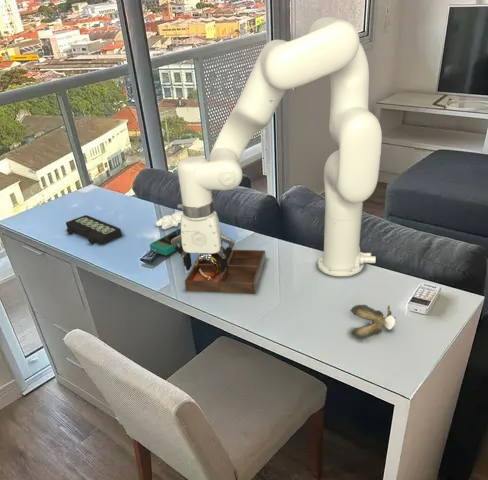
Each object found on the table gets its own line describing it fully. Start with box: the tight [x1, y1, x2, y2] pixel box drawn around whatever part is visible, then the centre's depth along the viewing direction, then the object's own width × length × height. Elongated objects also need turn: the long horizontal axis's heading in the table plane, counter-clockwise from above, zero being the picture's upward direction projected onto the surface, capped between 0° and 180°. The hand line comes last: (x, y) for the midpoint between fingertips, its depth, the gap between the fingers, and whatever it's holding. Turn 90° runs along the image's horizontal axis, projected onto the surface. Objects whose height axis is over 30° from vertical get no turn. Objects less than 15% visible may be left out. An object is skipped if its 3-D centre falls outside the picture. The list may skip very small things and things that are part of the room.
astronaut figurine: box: [155, 210, 183, 230], centre depth 168 cm, size 9×12×3 cm
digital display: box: [65, 214, 123, 245], centre depth 165 cm, size 21×3×10 cm
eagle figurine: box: [350, 304, 397, 340], centre depth 110 cm, size 8×7×9 cm
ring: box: [194, 253, 219, 281], centre depth 132 cm, size 7×3×8 cm, turn 57°
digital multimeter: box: [149, 227, 182, 257], centre depth 154 cm, size 7×15×3 cm, turn 142°
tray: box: [184, 249, 267, 295], centre depth 136 cm, size 19×19×3 cm
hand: (206, 268), depth 132 cm, fingers open, 9 cm apart
